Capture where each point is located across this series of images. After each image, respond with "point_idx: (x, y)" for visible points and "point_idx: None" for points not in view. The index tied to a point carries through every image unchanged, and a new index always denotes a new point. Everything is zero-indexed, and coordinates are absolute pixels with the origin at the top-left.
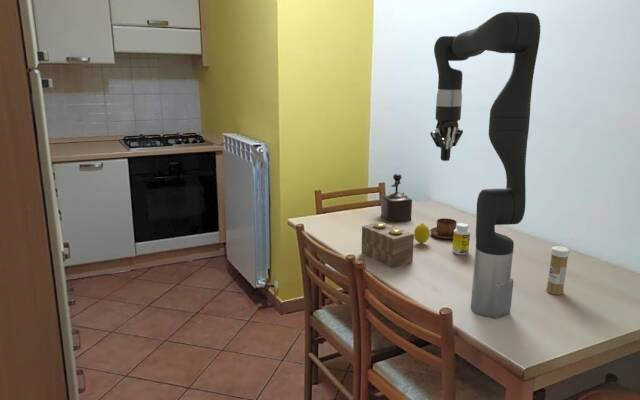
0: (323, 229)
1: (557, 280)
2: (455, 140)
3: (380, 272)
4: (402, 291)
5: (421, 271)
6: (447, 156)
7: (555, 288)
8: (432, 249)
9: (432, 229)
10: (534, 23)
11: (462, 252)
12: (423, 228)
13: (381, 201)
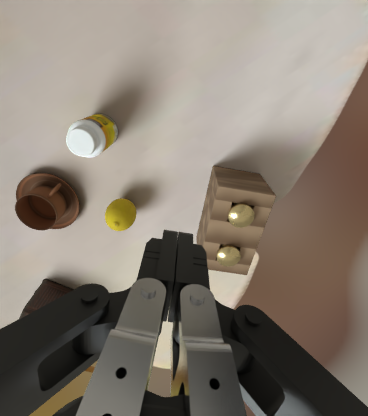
0: None
1: None
2: (66, 332)
3: (289, 176)
4: (343, 100)
5: (240, 129)
6: (184, 246)
7: None
8: (132, 176)
9: (58, 226)
10: None
11: (110, 119)
12: (123, 214)
13: None
